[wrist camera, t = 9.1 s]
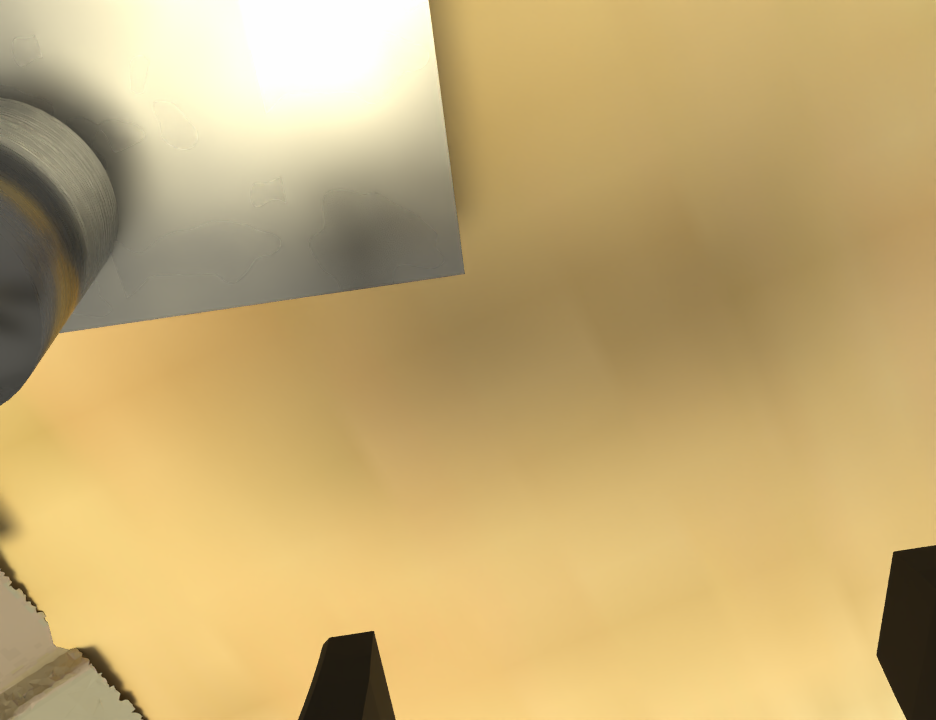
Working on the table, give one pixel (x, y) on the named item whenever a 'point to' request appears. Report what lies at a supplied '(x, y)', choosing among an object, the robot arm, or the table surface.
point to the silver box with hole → (212, 159)
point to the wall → (47, 671)
